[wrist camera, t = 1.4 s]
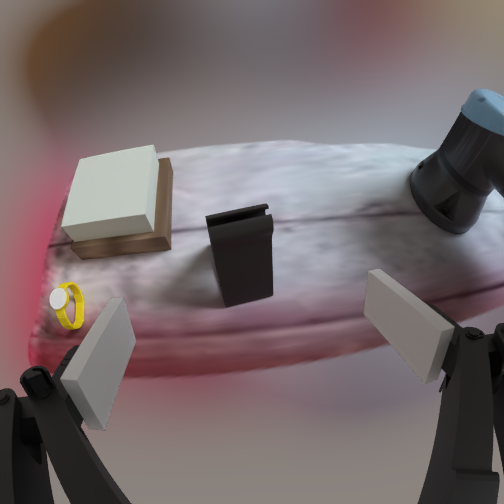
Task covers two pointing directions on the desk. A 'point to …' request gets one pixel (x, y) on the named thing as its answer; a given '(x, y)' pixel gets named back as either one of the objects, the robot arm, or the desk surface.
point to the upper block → (113, 195)
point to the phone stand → (243, 253)
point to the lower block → (142, 240)
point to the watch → (61, 300)
